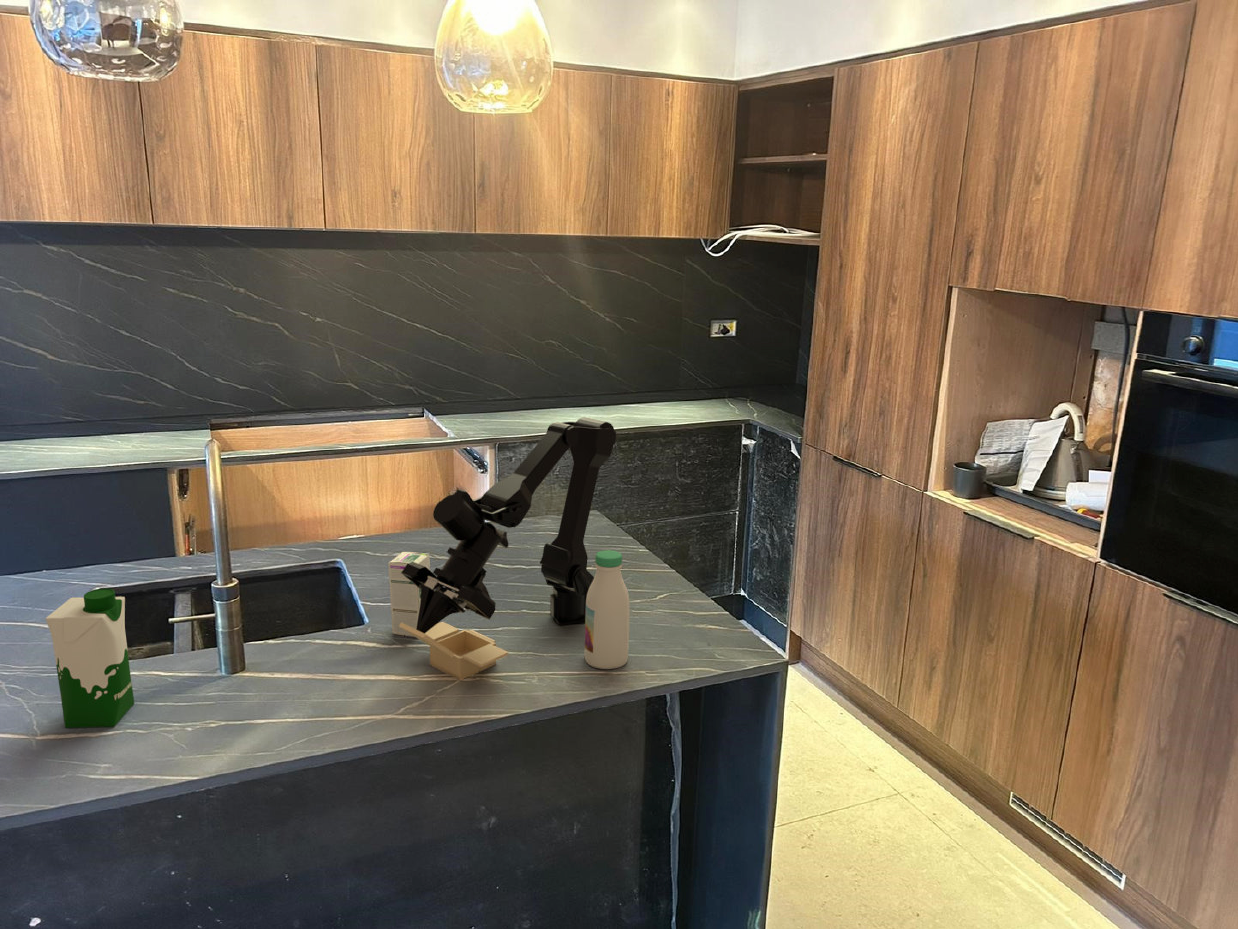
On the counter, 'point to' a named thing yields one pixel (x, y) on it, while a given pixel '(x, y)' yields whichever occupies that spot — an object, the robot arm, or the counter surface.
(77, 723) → the milk carton
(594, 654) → the milk bottle
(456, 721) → the counter surface
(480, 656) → the carton
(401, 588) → the syrup box
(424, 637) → the back flap
